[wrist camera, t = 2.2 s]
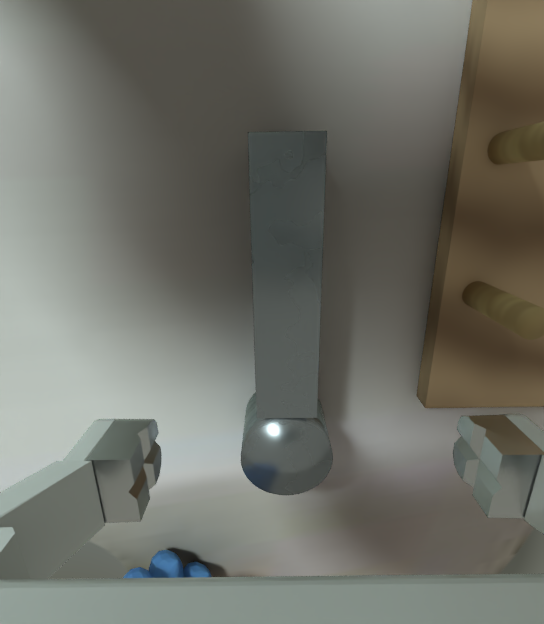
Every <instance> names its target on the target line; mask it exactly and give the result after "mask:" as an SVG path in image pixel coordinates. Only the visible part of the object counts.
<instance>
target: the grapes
mask: <svg viewBox="0 0 544 624" xmlns="http://www.w3.org/2000/svg"><path fill="white" fill-rule="evenodd" d="M187 577H212V576H211V574H210V571H209V570H208V568H207V567H206V566H205V565H203V564H201V563H198V562H192V563H188V564H187V565H186V567H185V568H184V569H183V565H182V562H181V560H180V558H179V557H178V556H177V554H176V553H174V552H171V551H169V550H162V551H159V552H158V553H157V554H156V555H155V556H154V557H153V558H152V560H151V564H150V567H149V571H148V570H146V569H144V568H141V567H139V568H134V569H131V570H130V571H129V572H128V573H127V574H126V575H125V576H124V577H123V578H187Z"/></svg>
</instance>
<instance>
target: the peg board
mask: <svg viewBox="0 0 544 624" xmlns="http://www.w3.org/2000/svg"><path fill="white" fill-rule="evenodd" d="M417 397H418V399H419V400H420V401H421V403H422V404H423V406H424V407H425V408H466V407H544V0H473V2H472V9H471V16H470V23H469V30H468V37H467V44H466V51H465V58H464V65H463V72H462V79H461V86H460V93H459V100H458V107H457V114H456V121H455V128H454V135H453V142H452V149H451V156H450V163H449V171H448V178H447V185H446V192H445V199H444V206H443V213H442V220H441V227H440V234H439V241H438V248H437V255H436V262H435V269H434V276H433V283H432V290H431V297H430V304H429V311H428V318H427V325H426V332H425V339H424V347H423V354H422V361H421V368H420V375H419V382H418V389H417Z"/></svg>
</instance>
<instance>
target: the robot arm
mask: <svg viewBox="0 0 544 624" xmlns="http://www.w3.org/2000/svg"><path fill="white" fill-rule="evenodd" d="M457 430H458V432H459V433H460V435H461V437H460V438H459V439H458V440H457V441H456V442H455V443H454V450H453V458H454V464H455V467H456V469H457V472H458V474H459V475H460V477H461V478H462V480H463V481H464V482H466V483H467V484H469V485H470V486H472V487H473V488H474V489H473V496H474V498H475V499H476V501H477V502H478V504H479V505H480V507H481V508H482V510H483V511H484V513H485V514H486V516H487V517H488V518H525V519H524V520H525V521H526V522H527V523H529V524H530V525H531V526H533V527H534V528H535V529H537V530H538V531H539V532H541V533H542V534H543V535H544V432H543V431H542V430H541V429H540V428H539V427H538V426H537V425H535V424H534V423H533V422H532V421H531V420H530V419H528V418H527V417H526V416H524V415H521V414H502V415H483V416H461V418H460V420H459V421H458V426H457ZM157 435H158V428H157V422H156V421H155V420H154V419H98V420H96V421H94V422H93V423H92V425H91V426H90V427H89V428H88V430H87V431H86V432H85V434H84V435H83V436H82V437H81V439H80V440H79V441H78V442H77V444H76V445H75V446H74V447H73V449H72V450H71V451H70V452H69V454H68V455H67V456H66V458H65V459H64V460H63V461H56V462H54V463H52V464H51V465H49V466H47V467H45V468H43V469H42V470H40V471H38V472H36V473H34V474H33V475H31V476H29V477H27V478H25V479H24V480H22V481H20V482H18V483H16V484H15V485H13V486H11V487H9V488H7V489H6V490H4V491H2V492H0V624H544V574H461V575H362V576H276V577H187V578H104V579H103V578H101V579H100V578H97V579H48V578H49V577H50V576H51V575H53V574H54V573H55V572H56V571H57V570H58V569H59V568H60V567H61V566H62V565H63V564H64V563H65V562H66V561H67V560H69V559H70V557H72V556H73V555H74V554H75V553H76V552H77V551H78V550H79V549H80V548H81V547H82V546H83V545H84V544H85V543H87V542H88V541H89V540H90V539H91V538H92V537H93V536H94V535H95V534H96V533H97V532H98V531H99V530H100V529H101V528H102V527H103V526H105V523H118V522H141V519H142V517H143V515H144V512H145V510H146V507H147V505H148V502H149V500H150V495H149V489H150V488H152V487H153V486H154V485H155V484H156V482H157V480H158V477H159V473H160V468H161V448H160V446H159V445H158V444H157V443H156V442H155V439H156V437H157Z"/></svg>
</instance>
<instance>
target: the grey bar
mask: <svg viewBox="0 0 544 624" xmlns="http://www.w3.org/2000/svg"><path fill="white" fill-rule="evenodd" d="M326 144H327V131H295V132H248V153H249V185H250V217H251V249H252V281H253V313H254V346H255V378H256V393H255V394H254V395H253V396H252V397H251V399H250V400H249V402H248V405H247V408H246V415H245V424H244V433H243V442H242V451H241V465H242V468H243V471H244V473H245V475H246V476H247V478H248V479H249V480H250V481H251V482H252V483H253V484H254V485H255V486H257V487H258V488H260V489H262V490H264V491H266V492H269V493H273V494H278V495H294V494H299V493H303V492H306V491H308V490H310V489H312V488H314V487H315V486H317V485H318V484H319V483H321V482H322V481H323V480H324V479H325V477H326V476H327V474H328V473H329V471H330V469H331V465H332V460H333V456H332V449H331V445H330V441H329V437H328V432H327V428H326V424H325V420H324V415H323V411H322V407H321V404H320V401H319V399H318V371H319V342H320V314H321V286H322V257H323V229H324V200H325V172H326Z"/></svg>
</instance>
